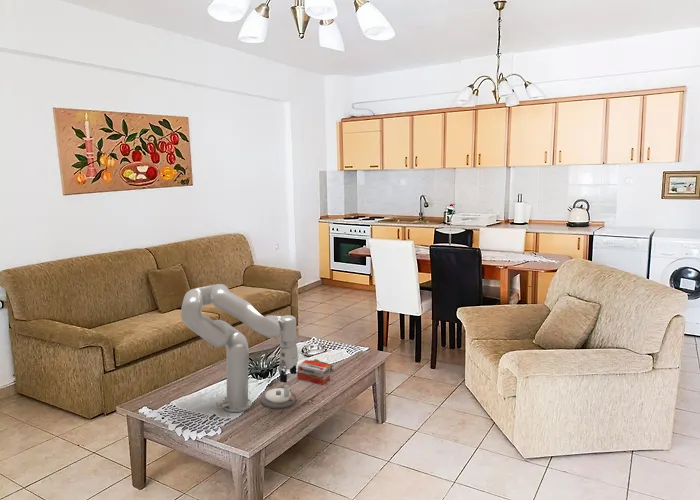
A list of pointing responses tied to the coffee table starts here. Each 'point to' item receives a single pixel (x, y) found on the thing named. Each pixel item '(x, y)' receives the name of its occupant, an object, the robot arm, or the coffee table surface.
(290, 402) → the dial base
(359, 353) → the coffee table surface
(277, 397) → the dial disc
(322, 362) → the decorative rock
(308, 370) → the medicine box
